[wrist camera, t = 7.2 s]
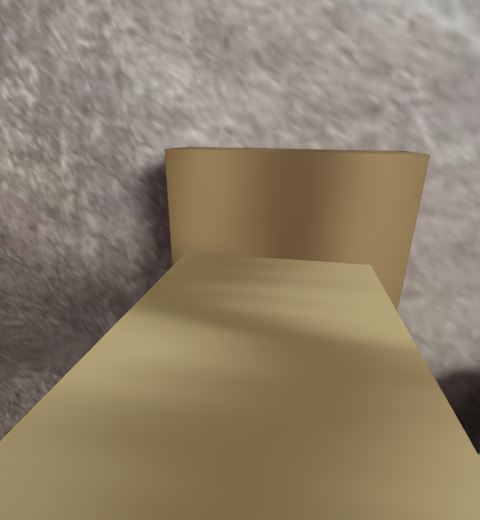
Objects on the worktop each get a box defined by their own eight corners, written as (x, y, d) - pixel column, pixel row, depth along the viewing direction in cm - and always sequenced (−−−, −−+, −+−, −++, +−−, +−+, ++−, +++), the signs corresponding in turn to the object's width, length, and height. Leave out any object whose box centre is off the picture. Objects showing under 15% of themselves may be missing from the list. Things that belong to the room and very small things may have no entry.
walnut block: (195, 323, 20) (178, 354, 17) (188, 147, 16) (164, 149, 13) (370, 342, 18) (382, 379, 15) (405, 151, 14) (430, 154, 12)
